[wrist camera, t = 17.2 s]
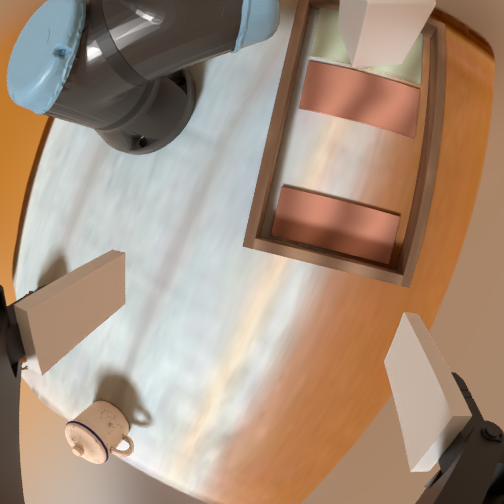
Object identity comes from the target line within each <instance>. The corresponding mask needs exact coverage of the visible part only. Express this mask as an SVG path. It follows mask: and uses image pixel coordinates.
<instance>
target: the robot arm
mask: <svg viewBox="0 0 504 504" xmlns="http://www.w3.org/2000/svg"><path fill="white" fill-rule="evenodd" d="M279 18H280V6H279V0H47V1H46V2H45V3H44V4H43V5H42V6H41V7H40V8H39V9H38V10H37V11H36V12H35V13H34V14H33V15H32V17H31V18H30V19H29V21H28V22H27V24H26V25H25V27H24V28H23V30H22V32H21V33H20V35H19V37H18V40H17V42H16V43H15V46H14V48H13V51H12V54H11V57H10V61H9V65H8V71H7V88H8V92H9V95H10V97H11V98H12V100H13V101H14V102H15V103H16V104H18V105H19V106H22V107H24V108H27V109H30V110H32V111H33V112H34V113H36V114H44V115H48V116H51V117H55V118H59V119H62V120H66V121H69V122H73V123H76V124H80V125H83V126H86V127H89V128H93V129H94V130H95V131H96V132H97V133H98V134H99V135H100V136H101V137H102V138H103V139H104V140H105V142H106V143H107V144H109V145H110V146H111V147H113V148H115V149H117V150H119V151H122V152H125V153H129V154H135V155H142V154H148V153H152V152H155V151H157V150H159V149H161V148H163V147H164V146H166V145H167V144H169V143H170V142H171V141H173V140H174V139H175V138H176V137H177V136H178V135H179V134H180V132H181V131H182V130H183V129H184V127H185V126H186V124H187V122H188V120H189V118H190V116H191V114H192V111H193V108H194V103H195V85H194V81H193V79H192V76H191V75H190V73H189V71H188V70H187V69H186V67H189V66H192V65H194V64H197V63H200V62H202V61H205V60H208V59H211V58H214V57H217V56H220V55H223V54H226V53H229V52H231V53H235V52H237V51H239V49H241V48H244V47H247V46H250V45H253V44H256V43H259V42H262V41H265V40H267V39H269V38H270V37H272V36H273V34H274V33H275V32H276V30H277V28H278V25H279ZM124 304H125V253H124V252H120V251H116V250H111V251H109V252H107V253H105V254H103V255H101V256H100V257H98V258H96V259H94V260H92V261H90V262H88V263H86V264H85V265H83V266H81V267H79V268H77V269H75V270H73V271H72V272H70V273H68V274H66V275H64V276H63V277H61V278H59V279H57V280H55V281H54V282H52V283H50V284H47V285H44V286H42V287H40V288H38V289H36V290H35V291H34V292H31V293H29V294H28V296H27V295H26V296H24V297H23V298H21V299H19V300H17V301H16V302H14V303H12V304H11V305H9V306H6V301H5V296H4V289H3V287H2V286H1V285H0V504H25V503H24V496H23V488H22V478H21V468H20V452H19V451H20V450H19V400H20V382H21V370H22V366H21V362H20V359H21V358H23V357H24V356H26V360H27V363H28V366H29V368H30V369H32V370H33V371H35V372H37V373H39V374H40V375H43V374H45V373H46V372H47V371H48V370H49V369H50V368H51V367H52V366H53V365H55V364H56V363H57V362H58V361H59V360H60V359H61V358H62V357H64V356H65V355H66V354H67V353H68V352H69V351H70V350H72V349H73V348H74V347H75V346H76V345H77V344H78V343H80V342H81V341H82V340H83V339H84V338H85V337H87V336H88V335H89V334H90V333H91V332H92V331H94V330H95V329H96V328H97V327H98V326H99V325H101V324H102V323H103V322H104V321H105V320H106V319H108V318H109V317H110V316H111V315H112V314H114V313H115V312H116V311H117V310H118V309H119V308H121V307H122V306H123V305H124ZM384 363H385V367H386V370H387V374H388V378H389V381H390V385H391V389H392V393H393V396H394V400H395V404H396V408H397V412H398V416H399V421H400V425H401V429H402V434H403V438H404V443H405V447H406V452H407V457H408V462H409V467H410V472H419V471H430V470H431V468H432V467H433V466H434V465H435V464H436V463H437V461H439V465H440V468H441V469H440V470H439V471H438V472H437V474H436V475H435V476H434V477H433V478H432V479H431V480H430V481H429V482H428V483H427V484H426V485H425V487H426V490H425V491H424V493H423V494H422V495H421V497H420V498H419V500H418V501H417V502H416V504H504V433H503V431H502V430H501V429H500V427H499V426H497V425H496V424H494V423H492V422H490V421H484V419H483V417H482V415H481V413H480V411H479V409H478V407H477V405H476V403H475V401H474V399H473V398H472V396H471V393H470V392H469V391H468V388H467V386H466V384H465V382H464V380H462V378H460V377H459V376H458V375H457V374H456V373H453V372H450V369H449V368H448V366H447V364H446V362H445V360H444V358H443V357H442V355H441V353H440V351H439V349H438V347H437V345H436V344H435V342H434V340H433V338H432V337H431V335H430V333H429V331H428V330H427V328H426V326H425V324H424V323H423V321H422V319H421V318H420V316H419V314H413V313H408V312H404V313H403V316H402V319H401V321H400V324H399V327H398V329H397V332H396V334H395V337H394V339H393V342H392V344H391V347H390V349H389V351H388V354H387V356H386V358H385V361H384Z"/></svg>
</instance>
